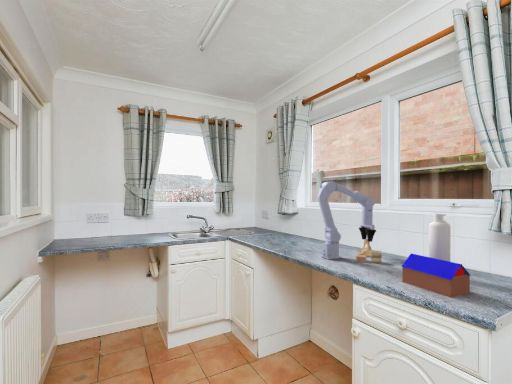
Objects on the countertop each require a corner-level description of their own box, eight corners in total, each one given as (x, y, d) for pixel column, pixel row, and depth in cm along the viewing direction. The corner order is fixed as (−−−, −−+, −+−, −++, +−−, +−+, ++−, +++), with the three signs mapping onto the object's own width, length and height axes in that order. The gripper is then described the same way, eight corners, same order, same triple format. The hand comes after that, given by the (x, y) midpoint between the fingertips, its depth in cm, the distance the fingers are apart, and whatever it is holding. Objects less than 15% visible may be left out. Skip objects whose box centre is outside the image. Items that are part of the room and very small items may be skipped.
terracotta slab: (366, 262, 150) (366, 257, 150) (356, 262, 152) (356, 256, 152) (365, 260, 155) (365, 255, 155) (356, 259, 157) (356, 254, 157)
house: (451, 298, 99) (451, 265, 99) (401, 282, 117) (401, 254, 117) (471, 294, 104) (471, 262, 104) (420, 278, 122) (420, 252, 122)
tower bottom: (381, 264, 148) (381, 258, 148) (371, 263, 149) (371, 257, 149) (380, 261, 152) (380, 256, 152) (370, 261, 154) (370, 255, 154)
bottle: (443, 280, 120) (443, 215, 120) (425, 275, 127) (425, 213, 127) (454, 277, 123) (454, 214, 124) (435, 273, 131) (435, 213, 131)
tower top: (381, 258, 148) (381, 252, 148) (371, 257, 149) (371, 251, 149) (380, 256, 152) (380, 250, 152) (371, 255, 154) (371, 250, 154)
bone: (380, 250, 173) (377, 255, 160) (367, 260, 177) (364, 265, 164) (368, 237, 177) (364, 240, 164) (356, 246, 180) (351, 250, 167)
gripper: (379, 218, 157) (379, 242, 157) (368, 216, 171) (368, 238, 171) (367, 218, 156) (367, 242, 156) (357, 216, 171) (356, 238, 171)
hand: (367, 240), depth 164 cm, fingers open, 7 cm apart
